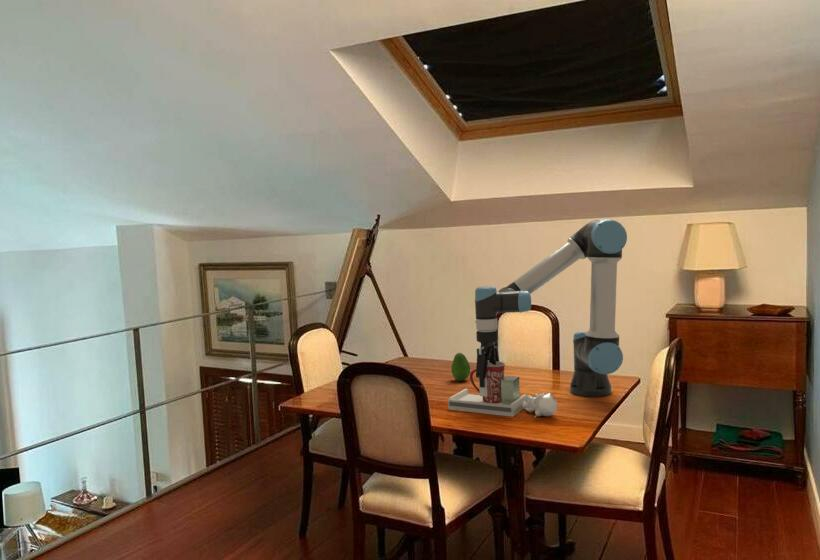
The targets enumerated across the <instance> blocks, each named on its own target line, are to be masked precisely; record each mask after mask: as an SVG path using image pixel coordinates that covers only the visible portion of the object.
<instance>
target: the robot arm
mask: <svg viewBox="0 0 820 560" xmlns="http://www.w3.org/2000/svg"><path fill="white" fill-rule="evenodd" d="M627 241H628V235H627V231H626V228H625V227H624V226H623V225H622V223H621V222H619V221H618V220H614V219H610V218H605V219H598V220H597V219H595V220H592V221H589V222H588V223H586V224H585V225H583V227H581V228H579V230H577V231H576V232H575V233H573V234H572V235H571V236H569V237H568V238H567V242H566V243H565V244H564V245H562V246H561V247H559V248H558V249H557V250H555V251H554V252H552V253H551V254H549V255H548V256H547V257H546V258H544V259H542V260H541V261H540V262H538V263H537V264H536V265H534V266H533V267H531V268H530V269H529V270H527V271H526V272H525V273H524V274H522V275H521V276H519V277H518V278H516V279H515V280H514V281H513V282H512V283H510V284H508V285H507V286H505V287H502V288H500V289H499V290H498V291H497V288H496V286H491V285H490V286H478V287H476V288H475V290H474V291H475V292H474V305H475V308H474V309H475V310H474V311H475V320H474V323H475V324H476V325H475V326H476V327H475V329H476V334H475V335H476V342H478V343H480V348H476V367H475V369H476V372H475V378H477V379H478V387H479V388H478V389H479V392H480V393H479V392H478V393H479V395H480V396H485V397H487V396H488V392H487V378H486V372H487V365H488V361H489V362H490V363H491V364H494V365H496V361H499V362H500V356H499V350H498V349H499V346H498V345H499V343H498V342H497V341H498V339H499V333H498V328H499V327H498V325H499V324H498V314H502V313H505V314H507V313H508V314H509V313H520V314H521V313H525V312H530V310H531V309H532V297H531V295H532V294H533V293H534V292H535V291H537V290H538V289H540V288H541V287H542V286H544V285H545V284H546V283H549V281H551V280H552V279H554V278H555V277H556V276H557V275H560V274H561V273H562V272H563V271H565V270H566V269H568V268H569V267H571V266H572V265H573V264H575V263H576V262H577V261H579V260H584V259H588V260H589V262H591V271H590V272H591V275H590V300H589V301H590V304H589V309H590V311H589V330H587V331H577V332H575V333H574V334H573V340H572V343H573V370H574V371H573V374H572V378H571V382H570V384H569V392H570V393H571V394H573V395H576V396H582V397H603V396H608V395H610V394H611V393H612V385H611V381H610V379H609V376H608V375H611V374H613V373H615V372H616V371H618V370H619V369H620V368H621V366H622V365H623V361H624V354H623V351H622V349H621V348H620V335H619V334H618V332H617V331H616V306H617V305H616V304H617V279H618V277H617V276H618V274H617V271H618V263H619V262H620V261H621V260H622V258H623V249H624V247H625V246H626V244H627Z"/></svg>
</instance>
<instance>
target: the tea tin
mask: <svg viewBox="0 0 820 560" xmlns="http://www.w3.org/2000/svg"><path fill="white" fill-rule="evenodd" d="M520 391H521V389H520V376H512V375H506V376H504V378H503V379H501V394H502V404H503V405H510V404H511V403H513V402H514V401H515V400H517V399H518V398H520V397H521V395H520V393H521V392H520Z"/></svg>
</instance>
